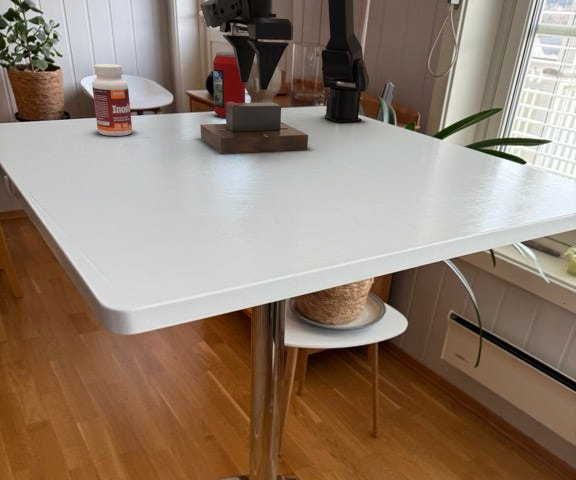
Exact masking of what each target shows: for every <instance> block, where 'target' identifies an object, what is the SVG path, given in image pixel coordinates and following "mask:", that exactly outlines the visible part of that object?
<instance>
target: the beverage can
mask: <svg viewBox="0 0 576 480" xmlns="http://www.w3.org/2000/svg"><path fill="white" fill-rule="evenodd" d="M212 69H213V70H212V73H213V74H212V75H213V106H214V107H213V108H214V113H215V114H216V115H217V116H218V117H220V118H224V119H226V103H227V102H234V103H246V82H241V78H240V74H239V70H238V65H237V61H236V57H235V53H234V51H233V52H232V51H231V52H230V51H220V52H215V56H214V58H213V61H212Z"/></svg>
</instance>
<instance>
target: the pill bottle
mask: <svg viewBox="0 0 576 480" xmlns="http://www.w3.org/2000/svg"><path fill="white" fill-rule="evenodd" d="M93 69H94V74H95V75H96V78H94V79H93V80H92V82H91V87H92V94H93V95H92V96H93V103H94V112H95V119H96V128H97V131H98V133H99V134H100V135H102V136H103V135H104V136H109V137H111V136H112V137H114V136H115V137H120V136H121V137H123V136H127V135H130V134H132V132H133V125H132V124H133V123H132V114H131V102H130V93H129V92H130V91H129V85H128V82H127V81H126V80H125V79H124V78H122V77H123V76H122V75H123V67H122V65H121V64H117V63H116V64H114V63H95V64H94V65H93Z"/></svg>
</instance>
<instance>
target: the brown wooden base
mask: <svg viewBox="0 0 576 480" xmlns="http://www.w3.org/2000/svg"><path fill="white" fill-rule="evenodd" d="M200 139H201V140H202V141H203V142H204V143H205V144H207V145H208V146H210V147H211V148H212V149H213V150H215V151H217V152H218V153H219V154H221V155H229V154H230V155H231V154H248V153H249V154H250V153H268V152H288V151H290V152H291V151H307V150H308V143H309V134H307V133H306V132H303V131H301V130H299V129H297V128H295V127H293V126H291V125H289V124H287V123H285V122H283V121H281V129H280V130H272V131H245V132H232V131H231V130H229V129H227V128H226V123H203V124H200Z"/></svg>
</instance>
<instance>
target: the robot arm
mask: <svg viewBox="0 0 576 480" xmlns="http://www.w3.org/2000/svg"><path fill="white" fill-rule="evenodd" d="M199 7H200V9H201V12H202V15H203V18H204V23H205V25H206V27H207V28H209V27H211V28H212V29H216V28H218V27H219V32H220V33H225V34H222V37H223V38H224V39H225V40H226V41H227V42H228V44H229V45H230V46H231V47H232V49H233V53H235V57H236V61H237V65H238V70H239V74H240V78H241V82H245V83H248V82H249V79H250V76H251V72H252V69H253V65H254V61H255V58H256V66H257V75H258V84H259V89H260V90H262V91H267V90H268V88H269V86H270V82H272V81H271V80H272V79H273V76H274V74H275V71H276V69H277V67H278V65H279V63H280V61H281V59H282V57H283V55H284V52H285V51H286V49H287V48H288V47H289V45H290V42H289V41H294V25H293V23H292V22H291V21H290V20H289V18H284V17H277V13H273V0H207V1H204V2H202V3H200V4H199ZM327 7H328V8H327V9H328V10H327V11H328V27H329V39H328V41H327V43H326V46H325V48H324V49H322V50H321V54H320V55H321V71H322V81H323V82H322V83H323V88H324V89H328V88H329V91H328V95H327V97H326V108H325V109H326V110H325V114H324V115H323V117H324V118H326V119H328V120H330V121H334V122H335V123H343V122H344V123H349V122H362V121H363V119H362V118H361V117H359V116H360V115H359V114H360V106H361V105H360V104H361V95H362V92H367V91H368V88H369V83H370V77H369V74H368V71H367V67H366V64H365V60H364V54H363V47H362V45H361V43H360V41H359V39H358V38H357V36H356V34H355V23H354V20H355V19H354V0H327Z"/></svg>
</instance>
